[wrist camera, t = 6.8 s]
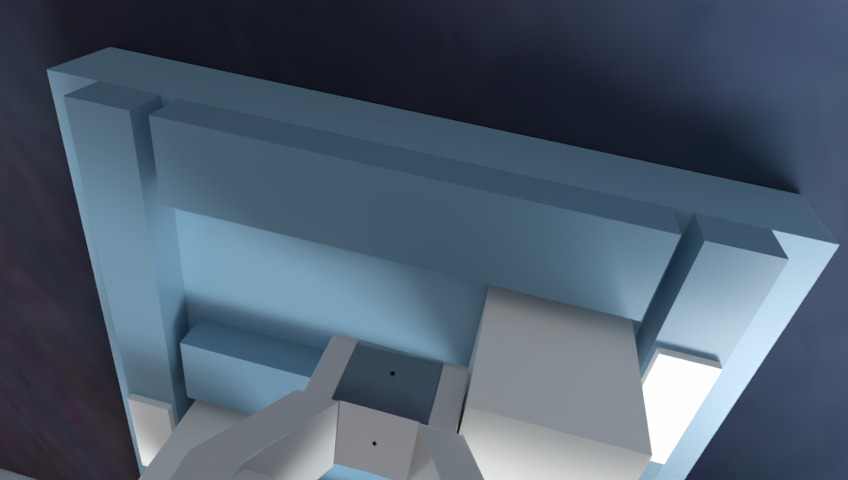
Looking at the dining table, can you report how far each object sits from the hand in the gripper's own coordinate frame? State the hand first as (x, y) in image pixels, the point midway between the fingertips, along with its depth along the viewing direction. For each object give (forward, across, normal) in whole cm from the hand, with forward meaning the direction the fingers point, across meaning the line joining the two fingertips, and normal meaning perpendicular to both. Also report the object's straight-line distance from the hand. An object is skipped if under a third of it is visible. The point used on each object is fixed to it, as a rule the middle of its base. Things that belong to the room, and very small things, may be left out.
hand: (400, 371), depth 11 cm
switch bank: (+4, +1, +6) cm, 7 cm away
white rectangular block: (+2, -3, 0) cm, 3 cm away
